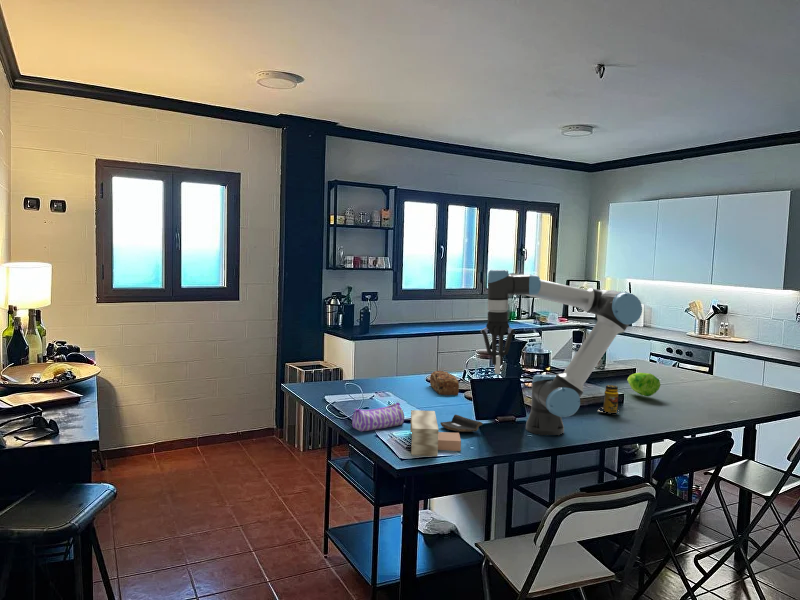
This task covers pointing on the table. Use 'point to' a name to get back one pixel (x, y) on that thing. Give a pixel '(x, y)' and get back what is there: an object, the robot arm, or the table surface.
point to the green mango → (644, 383)
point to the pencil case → (378, 418)
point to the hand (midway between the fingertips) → (497, 373)
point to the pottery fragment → (462, 424)
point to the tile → (449, 441)
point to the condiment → (610, 399)
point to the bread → (444, 383)
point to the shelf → (424, 433)
